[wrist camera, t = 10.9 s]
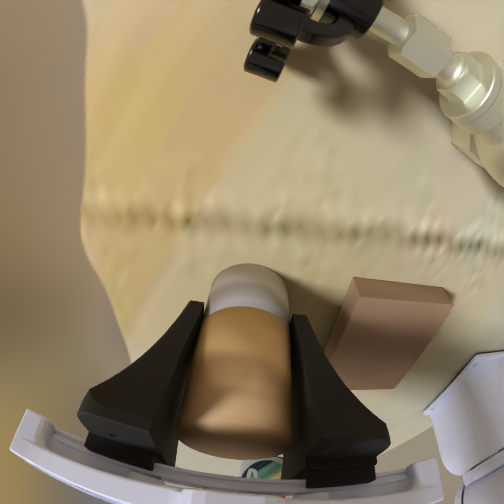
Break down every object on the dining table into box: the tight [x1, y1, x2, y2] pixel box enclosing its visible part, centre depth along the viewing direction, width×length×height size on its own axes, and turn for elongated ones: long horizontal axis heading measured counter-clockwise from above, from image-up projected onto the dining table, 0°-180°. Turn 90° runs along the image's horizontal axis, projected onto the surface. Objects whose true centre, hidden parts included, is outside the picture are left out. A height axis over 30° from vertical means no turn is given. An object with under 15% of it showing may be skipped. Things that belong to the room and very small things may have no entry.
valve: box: [244, 0, 504, 188], centre depth 6 cm, size 7×7×12 cm
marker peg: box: [175, 264, 293, 460], centre depth 12 cm, size 4×4×8 cm
